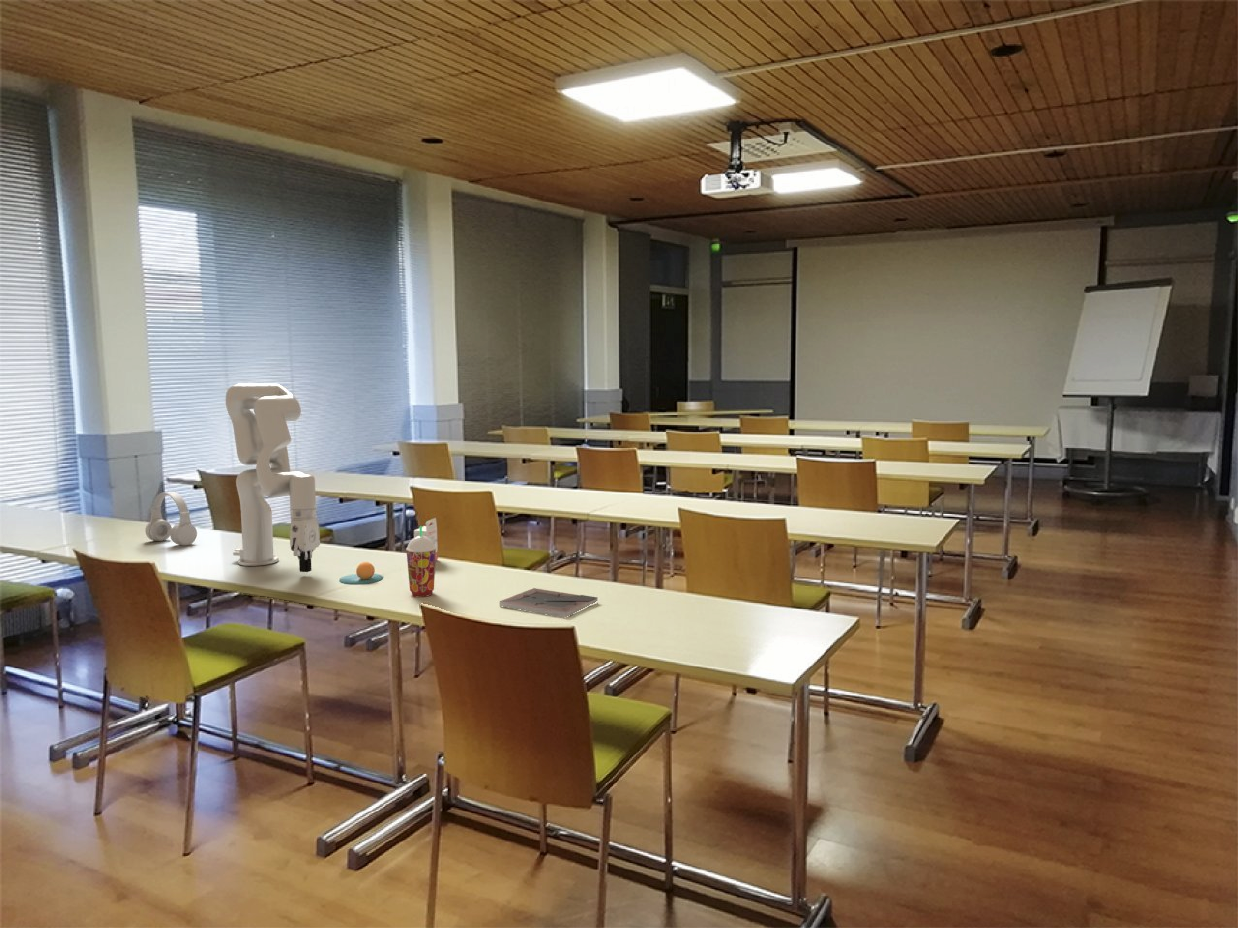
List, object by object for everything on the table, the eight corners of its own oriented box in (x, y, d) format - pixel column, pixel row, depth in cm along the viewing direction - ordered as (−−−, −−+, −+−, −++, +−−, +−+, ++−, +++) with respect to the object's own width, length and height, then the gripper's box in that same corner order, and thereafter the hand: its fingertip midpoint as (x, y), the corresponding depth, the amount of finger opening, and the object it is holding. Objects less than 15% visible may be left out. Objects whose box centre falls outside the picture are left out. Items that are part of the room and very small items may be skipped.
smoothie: (405, 592, 247) (403, 524, 245) (433, 589, 250) (432, 522, 248) (409, 599, 239) (408, 529, 237) (439, 596, 243) (438, 527, 240)
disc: (331, 582, 257) (331, 582, 257) (352, 573, 270) (352, 572, 270) (370, 585, 255) (370, 584, 255) (390, 575, 267) (390, 574, 267)
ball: (357, 560, 258) (372, 570, 258) (366, 556, 264) (380, 566, 263) (349, 575, 260) (364, 585, 259) (358, 570, 265) (372, 580, 264)
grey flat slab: (597, 605, 236) (533, 595, 247) (597, 597, 236) (533, 587, 246) (565, 620, 222) (499, 609, 232) (565, 611, 222) (499, 600, 232)
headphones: (144, 542, 317) (141, 491, 315) (166, 538, 324) (163, 488, 322) (177, 548, 307) (174, 495, 305) (198, 544, 315) (196, 492, 312)
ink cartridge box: (424, 559, 291) (423, 517, 289) (438, 559, 290) (437, 517, 288) (413, 564, 282) (412, 521, 281) (427, 565, 281) (426, 521, 280)
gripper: (300, 518, 256) (303, 577, 258) (327, 510, 270) (328, 566, 272) (278, 517, 257) (280, 576, 259) (305, 509, 272) (307, 565, 274)
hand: (305, 571), depth 266 cm, fingers closed
